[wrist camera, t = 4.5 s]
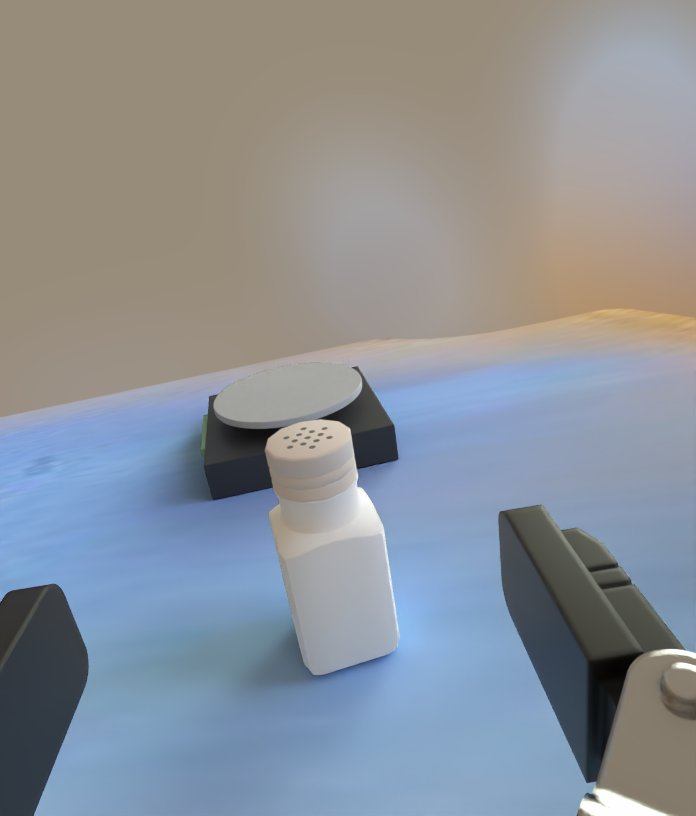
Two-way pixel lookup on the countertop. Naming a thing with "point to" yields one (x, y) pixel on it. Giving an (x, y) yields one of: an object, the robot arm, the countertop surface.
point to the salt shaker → (330, 548)
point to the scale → (288, 421)
